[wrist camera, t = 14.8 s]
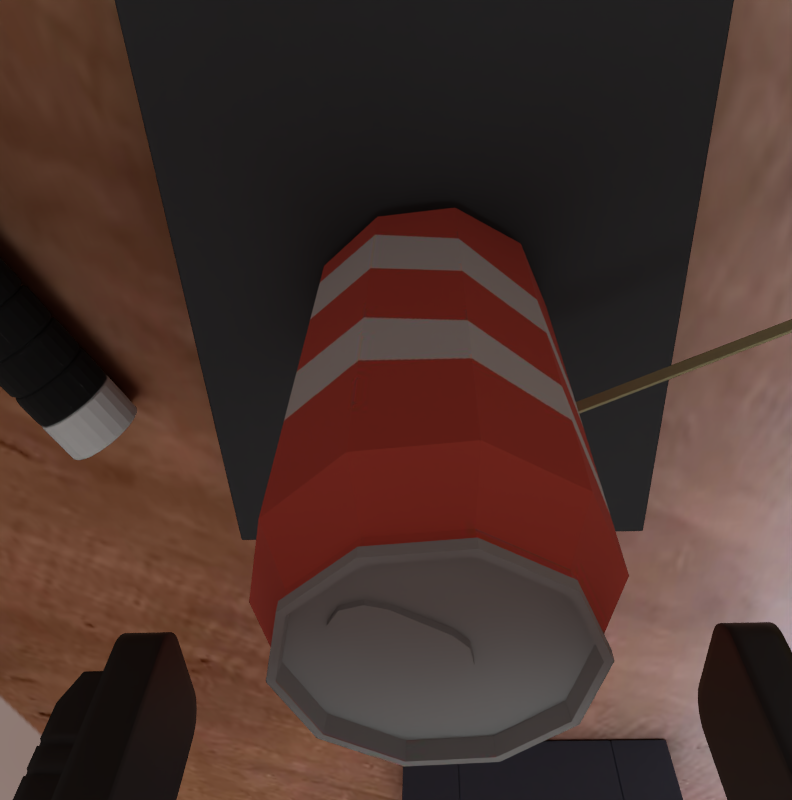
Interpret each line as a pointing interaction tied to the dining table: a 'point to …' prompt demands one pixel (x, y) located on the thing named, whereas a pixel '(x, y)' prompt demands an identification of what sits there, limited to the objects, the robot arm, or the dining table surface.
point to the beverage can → (434, 508)
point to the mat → (430, 180)
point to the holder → (554, 774)
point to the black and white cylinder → (56, 375)
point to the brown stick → (684, 366)
